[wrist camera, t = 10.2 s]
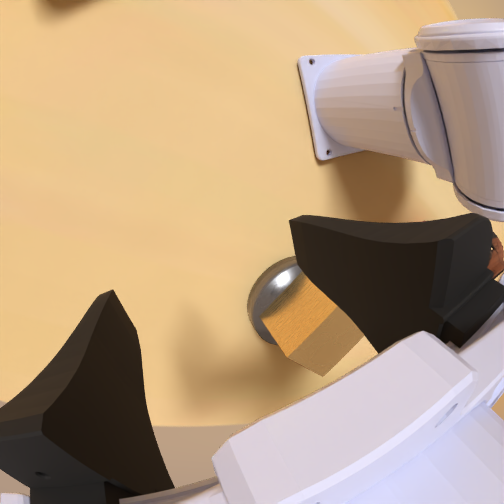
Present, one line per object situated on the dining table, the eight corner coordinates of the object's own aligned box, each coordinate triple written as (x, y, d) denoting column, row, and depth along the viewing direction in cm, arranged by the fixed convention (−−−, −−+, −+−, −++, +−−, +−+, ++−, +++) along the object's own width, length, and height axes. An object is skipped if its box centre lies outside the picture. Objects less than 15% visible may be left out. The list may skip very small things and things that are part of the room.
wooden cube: (303, 269, 23) (340, 303, 18) (333, 299, 25) (368, 331, 21) (259, 316, 23) (287, 357, 19) (294, 339, 26) (323, 376, 21)
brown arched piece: (484, 224, 36) (511, 265, 32) (444, 258, 41) (468, 300, 37) (481, 202, 28) (516, 254, 24) (430, 246, 33) (461, 299, 29)
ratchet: (424, 200, 27) (459, 214, 23) (421, 262, 31) (450, 280, 27) (236, 277, 23) (260, 312, 19) (257, 347, 27) (279, 382, 22)
